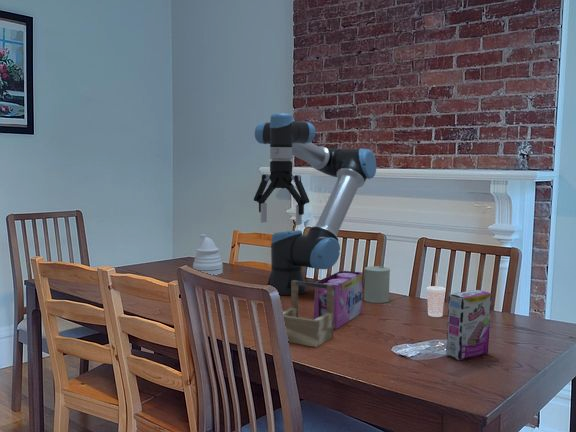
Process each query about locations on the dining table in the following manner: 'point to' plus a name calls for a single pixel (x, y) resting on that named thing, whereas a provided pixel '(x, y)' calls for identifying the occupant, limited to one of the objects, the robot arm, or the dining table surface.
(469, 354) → the candy bar box
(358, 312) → the gum box
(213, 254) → the honey pot
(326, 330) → the dispenser
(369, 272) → the can
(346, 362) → the dining table surface
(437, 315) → the beverage cup
